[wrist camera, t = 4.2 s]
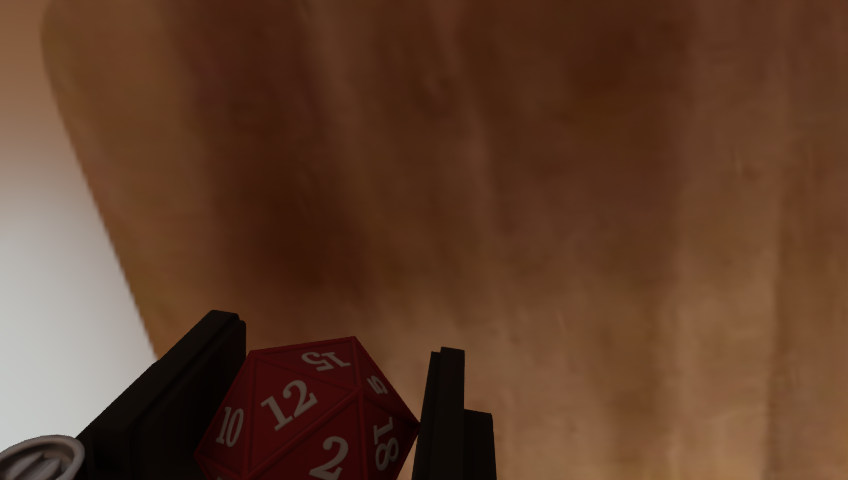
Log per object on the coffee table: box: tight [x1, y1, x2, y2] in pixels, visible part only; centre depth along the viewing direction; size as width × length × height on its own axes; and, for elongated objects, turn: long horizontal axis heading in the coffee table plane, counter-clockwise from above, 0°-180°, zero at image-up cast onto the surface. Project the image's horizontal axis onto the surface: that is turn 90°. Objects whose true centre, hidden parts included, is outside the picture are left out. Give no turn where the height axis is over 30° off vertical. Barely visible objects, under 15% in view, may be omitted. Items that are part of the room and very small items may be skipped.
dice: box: [193, 336, 421, 480], centre depth 10 cm, size 4×4×4 cm
